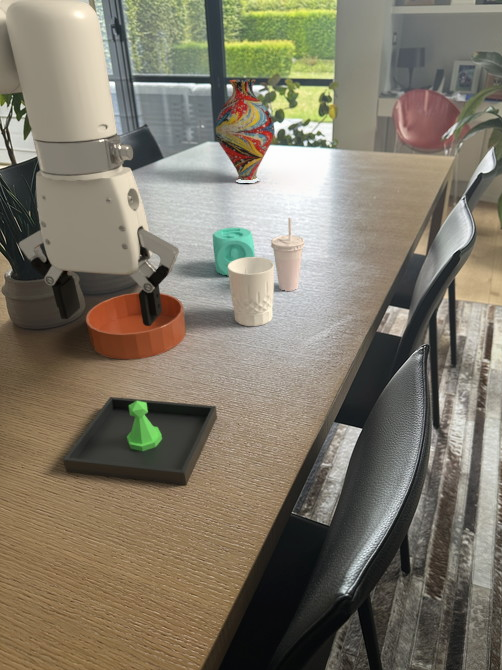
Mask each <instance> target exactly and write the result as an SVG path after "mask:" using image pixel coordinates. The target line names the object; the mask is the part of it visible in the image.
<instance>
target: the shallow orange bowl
mask: <svg viewBox="0 0 502 670" xmlns="http://www.w3.org/2000/svg"><path fill="white" fill-rule="evenodd" d="M160 298H161V305H162V311H161V314H160V315H159V316H158V317H157V318H156V320H155V321H154V322H153V323H152V325H151V326H145V324H143V320H142V313H141V307H140V301H139V292H132V293H125V294H120V295H117V296H113V297H111V298H108V299H105V300H103V301H101V302H99V303H98V304H96V305H95V306H93V307H92V308H91V309H90V310H89V311H88V312H87V315H86V317H85V321H86V326H87V331H88V335H89V339H90V344H91V346H92V348H93V349H94V351H95V352H97V353H98V354H99V355H101V356H104V357H107V358H110V359H114V360H115V359H118V360H139V359H145V358H149V357H155V356H158V355H161V354H163V353H166V352H168V351H170V350H172V349H173V348H175V347H177V346H178V345H179V344H180V343H181V342H183V340H184V339H185V337H186V334H187V323H186V317H185V309H184V304H183V303H182V301H181V300H179V299H178V298H177V297H176V296H173V295H170V294H167V293H161V292H160Z"/></svg>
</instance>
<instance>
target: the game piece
mask: <svg viewBox="0 0 502 670" xmlns="http://www.w3.org/2000/svg"><path fill="white" fill-rule="evenodd" d="M129 412H130V415H131V416H135V420H134V423H133V427H132V430H131V432H130V433H129V435H128V436H127V440H128V443H129V445H130V448H131V449H134V450H139V451H145V450H148V449H151V448H154V447H156V446H157V445H158V444H159V442H160V441H161V440H162V436H161V433H160V431H159V429H158V427H154V426H153V425H152V424H151V423H150V421H149V420H148V419H147V417H146V416H145V415H144V414H146V413H148V410H147V403H146V402H141V401H136V402H134V403H132V404H130V405H129Z"/></svg>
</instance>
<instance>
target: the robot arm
mask: <svg viewBox="0 0 502 670" xmlns="http://www.w3.org/2000/svg"><path fill="white" fill-rule="evenodd" d="M18 93H21V94H22V98H23V101H24V106H25V110H26V114H27V119H28V124H29V127H30V131H31V136H32V140H33V144H34V149H35V153H36V157H37V162H38V166H39V169H40V170H39V171H37V172H36V173H35V191H36V192H35V193H36V205H37V212H38V220H39V226H40V227H39V228H40V230H38V231H36V232H34V233H32V234H31V235H29V236H27V237H26V238H24V239H21V241H19V242H18V247H19V248H20V250H21V251H22V253H23V254H24V256H26V258H27V259H28V260H29V261H30V265H31V267H32V269H34V270H35V271H36V272H37V273H39V274H40V275H41V276H42V277H44V282H45V284H47V285H48V286H51V289H52V293H53V297H54V300H55V304H56V307H57V308H58V312H59V315H60V319H62V320H69V318H71V317H73V315H74V314H75V313H76V312H77V311H79V310H80V308H81V304H80V299H79V295H78V291H77V286H76V281H75V278H74V277H73V275H72V274H71V275H69V272H74V273H75V272H76V273H77V272H78V273H87V274H88V273H89V274H104V275H119V276H123V275H124V276H125V275H126V276H127V275H128V276H129V277H130V278H131V279H132V280H133V281H134V282H135V283H136V284H137V285H138V286H139V287H140V288H141V290H140V291H139V292H138V293H139V301H140V307H141V313H142V320H143V324H145V326H151V325H152V323H153V322H154V321H155V320H156V318H157V317H158V316H159V315H160V314H161V311H162V305H161V298H160V293H161V291H160V284H161V283H162V282H163V281H164V280H165V279H166V278H167V277H168V275H169V274H170V273H171V272H172V271H173V268H174V265H175V263H176V261H177V259H178V256H179V253H180V250H179V248H178V247H177V246H175V245H173V244H172V243H171V242H168V241H166V240H164V239H162V238H161V237H159V236H157V235H155V234H154V233H151V232H150V229H149V224H148V220H147V215H146V211H145V207H144V202H143V200H142V196H141V194H140V189H139V187H138V184H137V181H136V178H135V175H134V173H133V171H132V169H131V167H128V166H127V167H126V166H123V164H124V162H125V161H132V160H133V157H134V150H133V147H132V145H131V144H125V143H124V142H121V137H120V134H118V132H117V131H118V130H117V125H116V124H117V123H116V118H115V109H114V105H113V98H112V93H111V86H110V80H109V74H108V67H107V60H106V53H105V47H104V41H103V35H102V27H101V23H100V19H99V17H98V14H97V12H96V10H95V9H94V7H92V6H91V5H90V4H89V3H87V2H85V1H82V0H0V95H10V94H18ZM42 244H43V247H44V250H45V253H43V252H44V251H43V250H42V248H41V246H42ZM153 254H155V255H157V256H158V257H159V260H160V261H159V265H158V267H157V268H156V267H155V266H154V265H153V264H152V263H151V262H150V261H149V260H151V258H152V256H153Z"/></svg>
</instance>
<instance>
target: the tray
mask: <svg viewBox="0 0 502 670" xmlns="http://www.w3.org/2000/svg"><path fill="white" fill-rule="evenodd" d="M136 401H141V402H146V403H147V410H148V413H146V414H144V415H145V416H146V417H147V419H148V420H149V421H150V423H151V424H152V425H153V426H154V427H158V429H159V431H160V433H161V436H162V440H161V441H160V442H159V444H158V445H157V446H156V447H154V448H151V449H148V450H145V451H139V450H134V449H131V448H130V445H129V443H128V440H127V436H128V435H129V433H130V432H131V430H132V427H133V423H134V420H135V416H131V415H130V412H129V405H130V404H132V403H134V402H136ZM217 418H218V415H217V406H216V405H208V404H207V405H205V404H195V403H186V402H185V403H184V402H182V403H181V402H172V401H162V400H148V399H140V398H139V399H138V398H129V397H117V396H114V397H113V396H110V397H109V398H108V399H107V400H106V402H105V403H104V404H103V406H102V407H101V408H100V410H99V411H98V412H97V414H96V415H95V417H94V418H93V419H92V421H91V422H90V423H89V424H88V425H87V426H86V428H85V429H84V431H83V432H82V434H81V435H79V437H78V439H77V440H76V441H75V443H74V444H73V446H72V447H71V448H70V449H69V450H68V452H67V453H66V455H65V456H64V457H63V459H62V463H63V466H64V469H65V472H67V473H74V474H75V473H76V474H84V475H93V476H102V477H112V478H119V479H128V480H137V481H145V482H154V483H164V484H172V485H182V486H187V485H188V483H189V480H190V478H191V476H192V473H193V471H194V469H195V467H196V465H197V462H198V460H199V458H200V457H201V454H202V451H203V449H204V447H205V445H206V443H207V441H208V439H209V436H210V434H211V432H212V430H213V428H214V425H215V423H216V421H217Z"/></svg>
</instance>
